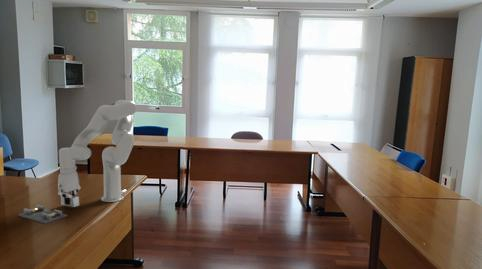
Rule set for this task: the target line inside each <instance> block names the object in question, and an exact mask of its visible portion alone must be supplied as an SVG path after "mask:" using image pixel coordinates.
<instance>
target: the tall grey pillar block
mask: <svg viewBox="0 0 482 269" xmlns="http://www.w3.org/2000/svg"><path fill="white" fill-rule="evenodd" d="M65 195H66V194H65ZM68 198H69V203H70V204H69V205H66V204H65V203H64V197H62V196H61V195H60V203H61V204H60V205H62V206H65V207H67V206H68V207H71V208H76V207H78V206H80V197H79V196H78V195H76V196H74V195H72V194H69V193H68Z"/></svg>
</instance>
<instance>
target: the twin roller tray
mask: <svg viewBox="0 0 482 269" xmlns="http://www.w3.org/2000/svg"><path fill="white" fill-rule="evenodd" d="M44 209H45V206H43V205H40V204H39V205H38V204H36V205H35V207H34V208H31V209H29V208H26V207H25V208H23V213H24V214H28V215H32V213H34V212H38V211H42V212H44ZM52 211H53V213H51V214H44V213H42V219H45V220H51V219H50V218H52V217H55V216H60V217H61V216H62V214H63V211H62V210H60V209H59V210H58V209H53V210H52Z"/></svg>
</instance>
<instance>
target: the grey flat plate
mask: <svg viewBox="0 0 482 269" xmlns="http://www.w3.org/2000/svg"><path fill="white" fill-rule="evenodd" d="M42 213H44V214H51V213H53V210H50V209H46V208H44V212H42V211H38V212H34V213H32V215H28V214H24V212H23V213H22V212H21V213H19V214H17V216H18V217H20V218H25V219H28V220H31V221H35V222H38V223H42V224H49V223H52V222H55V221H58V220H61V219H63V218H66V217H68V214H64V213H62V216H61V217H60V216H55V217H52V218H50V219H51V220H45V219H42Z"/></svg>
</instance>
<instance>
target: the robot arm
mask: <svg viewBox="0 0 482 269" xmlns="http://www.w3.org/2000/svg"><path fill="white" fill-rule="evenodd" d="M137 107H138V106H137V104H136V103H135V101H133V100H127V99H125V100H124V99H119V100H116V102H115V103H114V104H112V105H109V104H102V105H100V106H99V107H97V110H96V111H95V113H94V114H93V117H91V120H90V121H89V123H88V125H87V126H86V127H85V128H84V129H83V130H82V131H81V132H80V133H79V134H78V135H77V136H76V137H75V139H74V141H73V143H72V144H71V146H70V147H61V148H60V149H59V150H58V161H59V172H60V173H59V174H58V178H57V191H58V192H57V195H58V196H60V197H61V196H62V197H64V203H65V204H66V205H69V204H70V203H69V198H68V194H69V193H71V195H74V196H78V193H79V191H80V190H81V188H82V187H81V185H80V179H79V175H78V172H77V169H78V167H77V165H76V161H87V160H88V159H90V158H91V156H92V150H91V149H90V147H88V145H89V143H90V142H91V141H92V140H93V139H95V138H97V137H99V136H101V135H102V133H103V132H104V131H105V129H106V127H107V125H108V124H109V122H113V121H116V120H117V123H116V125H115V127H114V130H113V132H112V135H111V137H110V141H111V144H113V145H115V146H107V147H105V148H104V149H103V150H102V153H101V159H102V165H103V166H102V167H103V196H101V198H100V200H101V201H102V202H105V203H116V202H120V201H123V200H124V195H123V194H125V193H127V189H122V181H121V180H122V175H121V174H122V171H121V170H122V169H121V166H122V165H124V164H125V163H126V162H127V160H128V159H129V158H130V157H129V156H130V154H131V152H132V149H133V147H134V144H135V135H134V134H133V133H132V132H131V131H132V130H131V129H132V127H133V122H134V120H133V115H134V114H135V113H136V112H137V109H138V108H137ZM65 194H66V195H65ZM66 205H65V206H66Z"/></svg>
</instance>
